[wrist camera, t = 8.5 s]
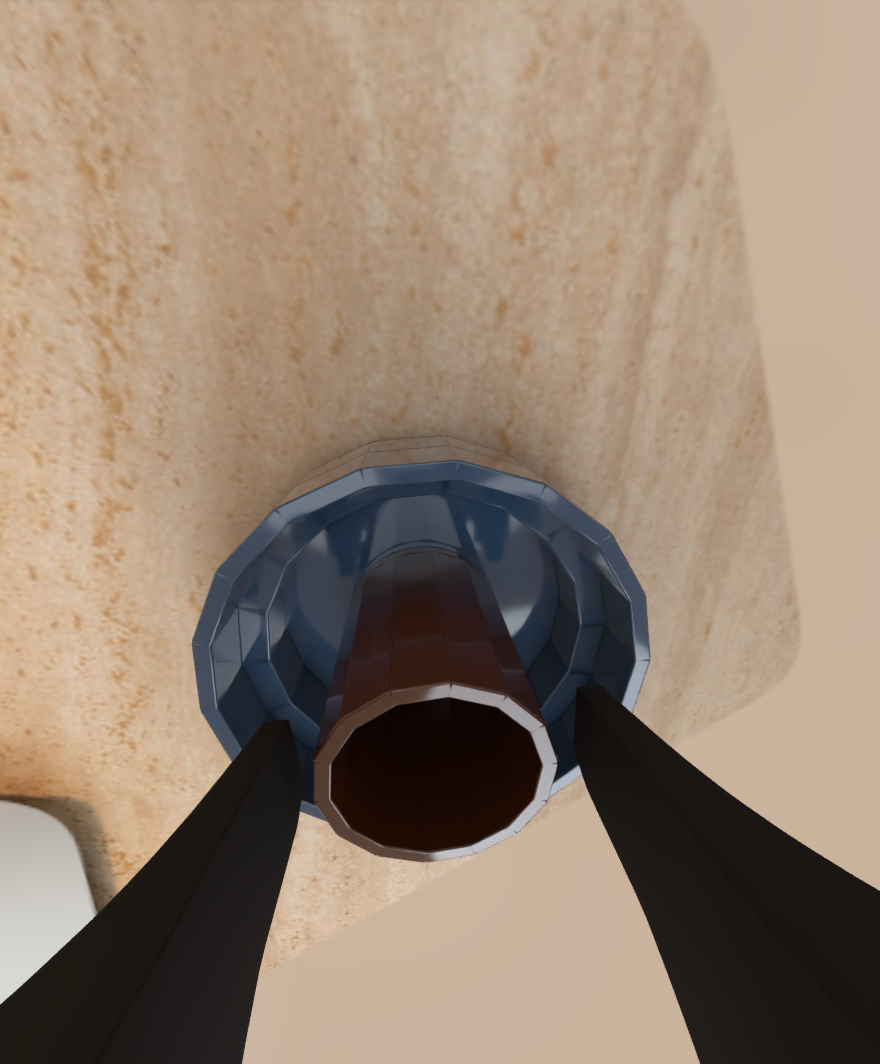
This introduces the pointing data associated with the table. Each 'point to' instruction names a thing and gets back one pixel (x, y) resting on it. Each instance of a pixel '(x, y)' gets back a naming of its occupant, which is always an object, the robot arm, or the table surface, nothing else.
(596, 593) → the bowl
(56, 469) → the table surface
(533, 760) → the cup
